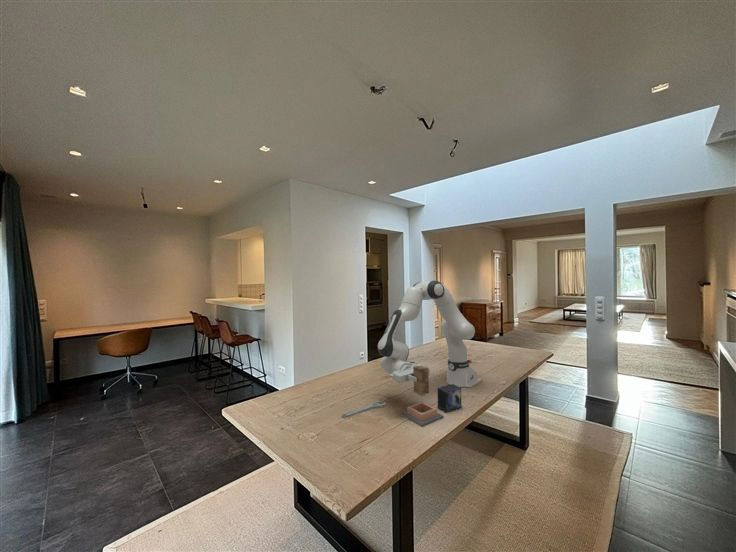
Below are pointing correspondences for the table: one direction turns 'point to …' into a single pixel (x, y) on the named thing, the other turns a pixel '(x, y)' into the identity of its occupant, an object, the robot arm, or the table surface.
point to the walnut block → (421, 379)
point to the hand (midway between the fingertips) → (422, 378)
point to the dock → (422, 414)
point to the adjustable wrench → (364, 409)
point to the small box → (449, 398)
